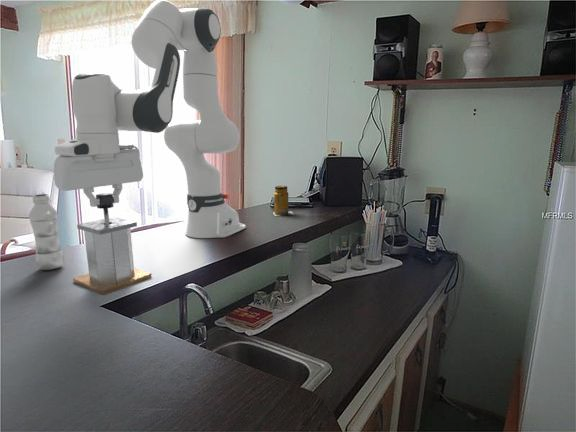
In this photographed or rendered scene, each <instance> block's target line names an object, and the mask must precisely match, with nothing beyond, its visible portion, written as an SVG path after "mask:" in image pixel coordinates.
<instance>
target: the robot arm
mask: <svg viewBox="0 0 576 432" xmlns="http://www.w3.org/2000/svg"><path fill="white" fill-rule="evenodd" d="M221 30H222V29H221V23H220V20H219V17H218V15H217V14H216V13H215V11H214V10H212V9H210V8H206V7H199V8H179V7H177V5H176V4H175V3H173V2H171V1H169V0H156V1H154V2H153V3H151V4H150V6H149V7H148V8H146V10H145V11H144V13H143V14H142V16H141V17H140V19H139V21H138V23H137V25H136V27H135V28H134V30H133V33H132V35H131V46H132V49H133V52H134V54H135V55H136V56H137V58H138V59H139V60H140V61H141V62H142V63H143V64H144V65H146V66H147V67H149V68H152V69H155V71H154V76H153V80H152V83H151V85H149V86H148V87H146V88H143V89H137V90H136V89H135V90H134V89H133V90H131V89H130V90H127V89H126V90H123V88H121V87H120V86H117V85H116V84H115V83H114V82H113V81H112V79H111V76H110V74H109V73H106V72H102V71H101V72H88V73H87V72H86V73H79V74H77V75H76V76H75V77H73V81H72V85H71V86H72V88H71V98H72V110H73V115H74V117H75V120H76V128H75V135H76V137H75V138H73V139H70V140H68V141H65V142H63V143H59V144H57V145H55V146H54V152H55V155H57V157H56V158H55V160H54V162H53V179H54V186H56V188H57V189H58V190H60V191H65V192H68V191H76V190H83V191H82V192H83V194H84V195H85V196H86V197H87V199H89V206H90V207H92V208H95V207H96V208H97V206H100V203H99V202H100V199H98V198H96V196H95V195H94V194H93V193H94V192H95V188H98V187H99V188H100V187H105V186H111V187H112V188H113V189H114V190H113V191H112V193H111V194H112V195H113V204H118V203H120V195H121V193H122V190H123V184H130V183H138V182H142V180H143V178H144V173H143V166H142V162H141V157H140V150H139V148H138V147H137V146H136V145H134V144H131V143H129V144H120V138H119V131H125V132H126V131H127V132H145V133H146V132H148V133H157V134H158V133H161V132H163V131H164V134H163V139H164V142H165V145H166V147H167V149H169V150H171V152H173V153H174V154H175V155H176V156H177V158H178V159H179V160H180V162H181V163H182V165H183V168H184V170H185V175H186V182H187V184H186V185H187V195H186V196H187V197H186V203H187V208H188V212H187V213H188V214H187V224H186V225H187V226H186V231H185V235H186V236H187V237H190V238H194V239H213V238H226V237H227V238H228V237H229V236H231V235H233V234H235V233H238V232H240V231H242V230H244V229H246V228H247V226H246V224H244V223H241V222H240V218H239V213H238V211H236V210H235V209H234V208H232V207H231V206H230V205H228V204H227V203H226V201H225V199H226V200H229V199H230V193H226V192H224V193H221V192H222V191H221V174H220V171H219V170H218V168H217V167H216V166H214V165H213V164H211V163H209V162H208V161H207V160H206V158H205V155H204V154H217V155H218V154H220V155H221V154H226V153H230V152H234V151H235V150H236V149H237V147H238V145H239V143H240V138H241V136H240V131H239V128H238V127H237V125H236V124H235V123H234V122H233V121H232V120H231V119H229V118H228V117H227V116H226V114H225V112H224V111H223V108H222V107H221V103H220V100H219V99H220V97H219V88H218V87H219V86H218V65H217V58H216V53H215V48H216V46H217V45H218V43H219V40H220V37H221V34H222V33H221ZM179 51H183V52H184V54H183V64H182V85H183V86H182V87H183V90H182V91H183V99H184V101H185V103H186V104H187V105H188V106H189V107H191V108H192V109H195V110H196V111H197V112H198V113H199V116H200V119H195V120H194V119H190V120H189V119H188V120H187V119H186V120H185V119H183V120H177V121H172V118H173V112H174V111H173V108H174V107H173V106H174V103H173V101H174V97H175V93H176V88H177V83H178V79H179V73H180V66H181V56H180V52H179Z"/></svg>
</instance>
